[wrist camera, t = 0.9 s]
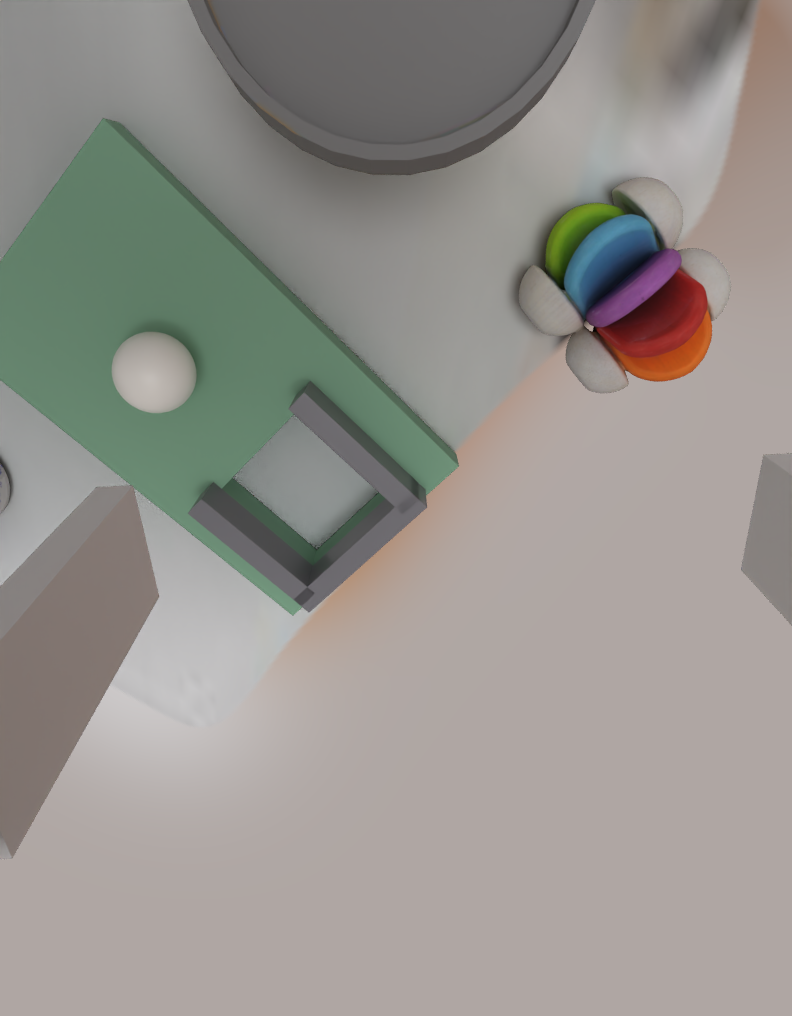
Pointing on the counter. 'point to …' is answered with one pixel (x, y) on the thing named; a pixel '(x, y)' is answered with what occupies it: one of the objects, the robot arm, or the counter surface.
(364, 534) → the grey u-shaped bracket
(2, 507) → the beverage can
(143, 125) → the counter surface
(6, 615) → the robot arm
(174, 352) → the ball
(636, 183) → the rainbow toy vehicle
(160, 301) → the green mat
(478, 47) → the reusable coffee cup
